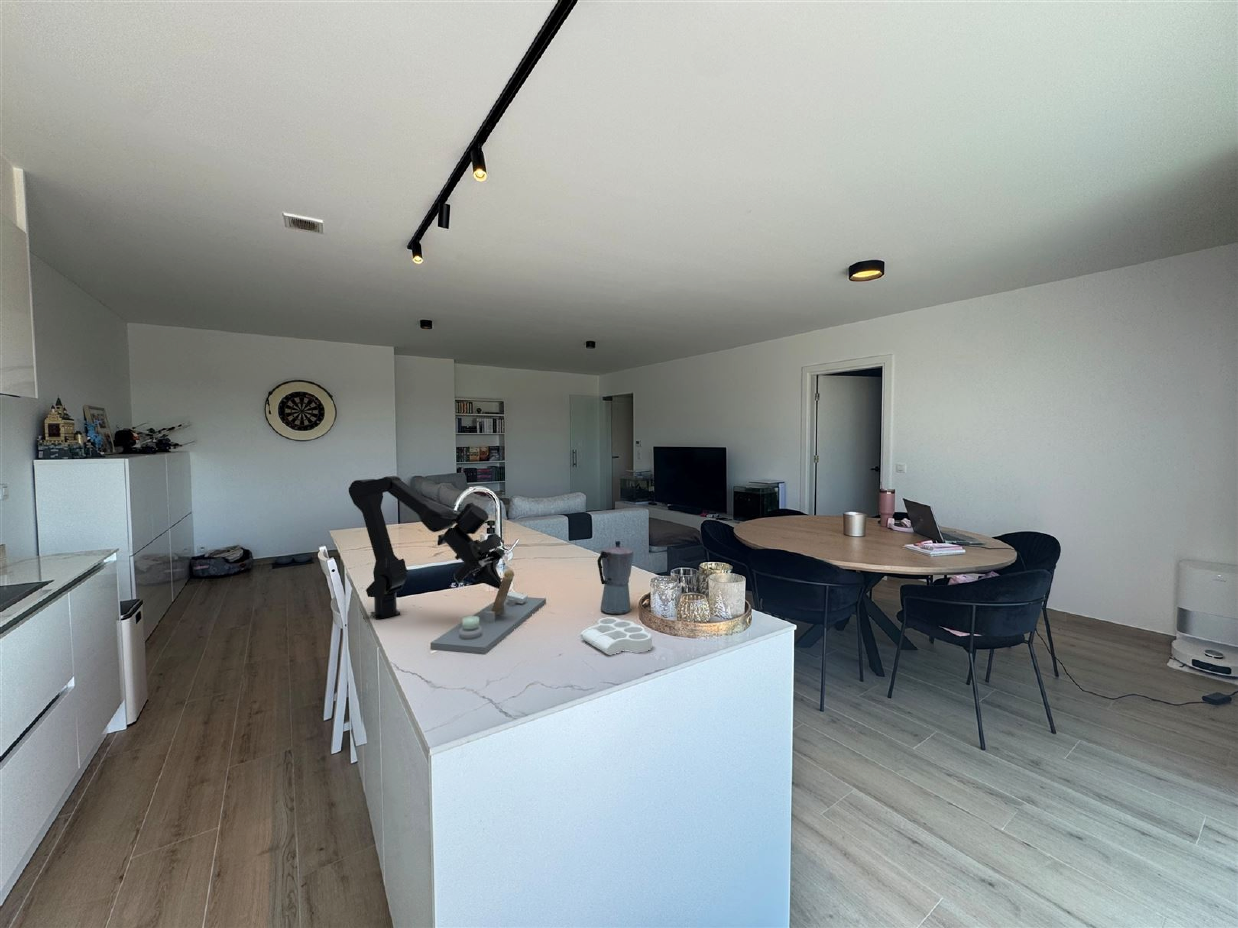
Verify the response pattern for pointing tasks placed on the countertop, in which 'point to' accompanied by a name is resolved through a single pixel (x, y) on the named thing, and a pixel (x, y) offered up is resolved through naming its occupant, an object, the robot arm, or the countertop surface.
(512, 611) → the switch panel
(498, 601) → the walnut lever
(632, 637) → the white compartment tray
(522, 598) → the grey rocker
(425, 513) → the robot arm
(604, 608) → the moka pot
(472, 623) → the sage button
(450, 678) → the countertop surface
